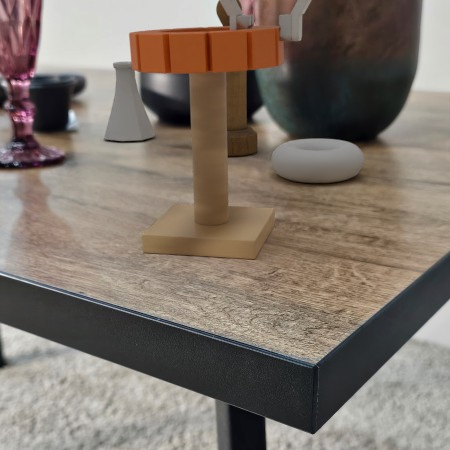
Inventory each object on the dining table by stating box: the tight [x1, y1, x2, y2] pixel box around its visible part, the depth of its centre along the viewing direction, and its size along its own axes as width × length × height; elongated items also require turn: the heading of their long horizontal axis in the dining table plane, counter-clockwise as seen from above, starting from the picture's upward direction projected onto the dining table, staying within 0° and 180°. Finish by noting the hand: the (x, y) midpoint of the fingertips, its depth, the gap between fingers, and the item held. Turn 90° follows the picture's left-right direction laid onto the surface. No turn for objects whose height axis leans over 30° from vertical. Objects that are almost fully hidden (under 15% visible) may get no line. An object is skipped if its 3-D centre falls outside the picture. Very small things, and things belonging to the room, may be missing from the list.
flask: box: [103, 61, 155, 142], centre depth 101 cm, size 7×7×10 cm
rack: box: [141, 72, 276, 260], centre depth 59 cm, size 9×9×14 cm
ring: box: [128, 25, 285, 75], centre depth 55 cm, size 11×11×3 cm
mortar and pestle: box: [215, 0, 259, 157], centre depth 89 cm, size 7×6×18 cm
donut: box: [270, 138, 365, 184], centre depth 80 cm, size 10×4×10 cm
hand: (266, 41), depth 54 cm, fingers closed on ring, 2 cm apart
